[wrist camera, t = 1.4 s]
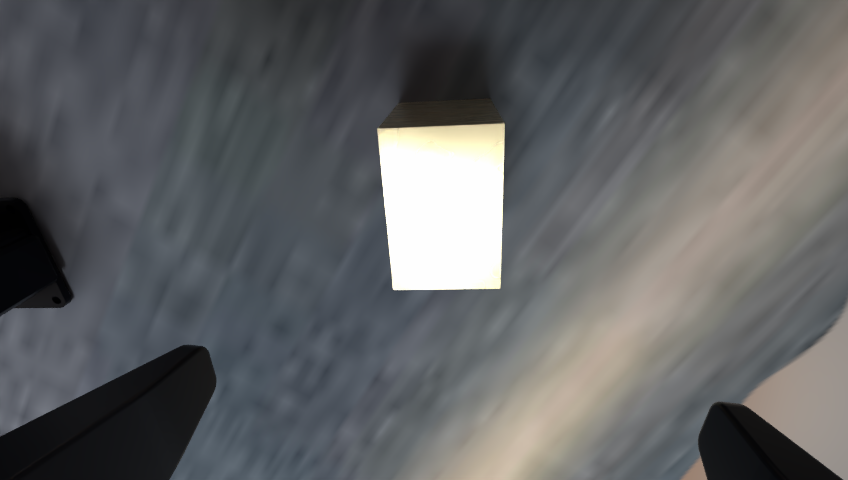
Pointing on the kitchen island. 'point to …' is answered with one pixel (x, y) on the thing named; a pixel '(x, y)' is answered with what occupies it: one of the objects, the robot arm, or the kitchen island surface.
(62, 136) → the kitchen island surface
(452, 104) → the wood-topped khaki block
